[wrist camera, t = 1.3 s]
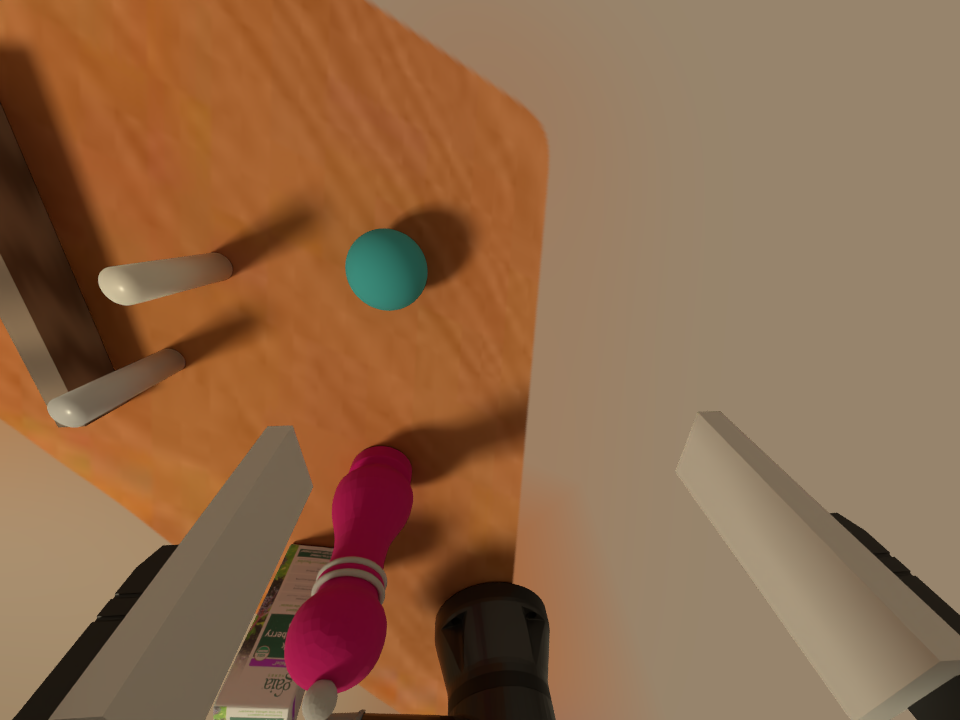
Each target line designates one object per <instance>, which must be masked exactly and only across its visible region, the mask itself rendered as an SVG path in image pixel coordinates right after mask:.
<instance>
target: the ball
mask: <svg viewBox="0 0 960 720" xmlns="http://www.w3.org/2000/svg"><path fill="white" fill-rule="evenodd" d="M345 269H346V276H347V280H348V283H349V285H350V287H351V288H352V290H353V292H354V293H355V294H356V295H357V297H359V298H360V299H361V300H362V301H363V302H364V303H366V304H368V305H369V306H371V307H374V308H377V309H380V310H389V311H390V310H398V309H401V308H404V307H407V306H408V305H410V304H412V303H413V302H414V301H415V300H416V299H417V298H418V297H419V296H420V295H421V293H422V291H423V290H424V287H425V285H426V281H427V272H428V270H427V263H426V259H425V257H424V254H423V252H422V250H421V249H420V247H419V246H418V245H417V244H416V242H415V241H414V240H412V239H411V238H410V237H409V236H407V235H406V234H404V233H402V232H399V231H396V230H392V229H375V230H372V231H369V232H367V233H365V234H363V235H362V236H360V237H359V238H358V239H357V240H356V241H355V242H354V243H353V244H352V246H351V248H350V250H349V252H348V255H347V258H346V265H345Z"/></svg>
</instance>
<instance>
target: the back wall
mask: <svg viewBox="0 0 960 720" xmlns="http://www.w3.org/2000/svg"><path fill="white" fill-rule="evenodd" d="M0 318H1V320H2V322H3V324H4V325H5V327H6V329H7V331H8V333H9V335H10V337H11V339H12V341H13V343H14V344H15V346H16V348H17V350H18V352H19V354H20V356H21V358H22V360H23V361H24V363H25V365H26V367H27V369H28V371H29V373H30V375H31V377H32V379H33V380H34V382H35V384H36V386H37V388H38V390H39V392H40V394H41V396H42V398H43V399H44V401H45V403H46V405H47V406H48V403H49V402H50V401H51V400H52V399H54V398H56V397H59V396H61V395H63V394H65V393H67V392H70V391H72V390H74V389H76V388H78V387H81V386H83V385H85V384H87V383H90V382H92V381H94V380H96V379H98V378H101V377H103V376H105V375H107V374H110V373H112V372H114V369H113V367H112V364H111V362H110V360H109V357H108V355H107V353H106V350H105V348H104V346H103V343H102V341H101V338H100V336H99V334H98V331H97V329H96V327H95V324H94V322H93V320H92V317H91V315H90V313H89V310H88V308H87V306H86V303H85V301H84V299H83V296H82V294H81V292H80V289H79V287H78V284H77V282H76V280H75V277H74V275H73V273H72V270H71V268H70V266H69V263H68V261H67V259H66V256H65V254H64V252H63V249H62V247H61V245H60V242H59V240H58V238H57V235H56V233H55V230H54V228H53V226H52V223H51V221H50V219H49V216H48V214H47V212H46V209H45V207H44V205H43V202H42V200H41V198H40V195H39V193H38V191H37V188H36V186H35V184H34V181H33V179H32V176H31V174H30V172H29V169H28V167H27V165H26V162H25V160H24V158H23V155H22V153H21V151H20V148H19V146H18V144H17V141H16V139H15V137H14V134H13V132H12V130H11V127H10V125H9V122H8V120H7V118H6V115H5V113H4V111H3V108H2V106H1V104H0ZM125 403H127V401H125V402H123V403H122V404H120V405H118V406H116V407H114V408H113V409H111V410H109V411H107V412H106V413H104V414H102V415H100V416H98V417H97V418H95V419H93V420H91V421H89V422H88V423H86V424H84V425H82V426H87V425H88V424H90V423H92V422H94V421H95V420H97V419H99V418H101V417H102V416H104V415H106V414H108V413H110V412H111V411H113V410H115V409H117V408H118V407H120V406H122V405H124V404H125ZM55 422H56V424H57V426H58V427H68V426H64V425H62V424H60V423H58V422H57V421H55Z"/></svg>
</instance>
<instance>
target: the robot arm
mask: <svg viewBox="0 0 960 720" xmlns="http://www.w3.org/2000/svg"><path fill="white" fill-rule="evenodd" d="M675 472H676V473H677V475H678V476H679V478H680V479H681V481H682V482H683V483H684V485H685V486H686V488H687V489H688V490H689V492H690V493H691V495H692V496H693V498H694V499H695V500H696V502H697V503H698V505H699V506H700V508H701V509H702V510H703V512H704V513H705V514H706V516H707V517H708V519H709V520H710V522H711V523H712V524H713V526H714V527H715V529H716V530H717V532H718V533H719V534H720V536H721V537H722V539H723V540H724V541H725V543H726V544H727V546H728V547H729V549H730V550H731V551H732V553H733V554H734V556H735V557H736V558H737V560H738V561H739V563H740V564H741V566H742V567H743V568H744V570H745V571H746V573H747V574H748V575H749V577H750V578H751V580H752V581H753V583H754V584H755V585H756V587H757V588H758V590H759V591H760V592H761V594H762V595H763V597H764V598H765V599H766V601H767V602H768V604H769V605H770V607H771V608H772V609H773V610H774V612H775V614H776V615H777V616H778V618H779V619H780V621H781V622H782V624H783V625H784V626H785V628H786V629H787V631H788V632H789V633H790V635H791V636H792V638H793V639H794V640H795V642H796V643H797V645H798V646H799V648H800V649H801V650H802V652H803V653H804V655H805V656H806V657H807V659H808V660H809V662H810V663H811V665H812V666H813V667H814V669H815V670H816V671H817V673H818V674H819V676H820V677H821V679H822V680H823V682H824V683H825V684H826V686H827V687H828V688H829V690H830V691H831V693H832V694H833V696H834V697H835V698H836V700H837V701H838V703H839V704H840V706H841V707H842V708H843V710H844V711H845V713H846V714H847V715H848V717H849V718H850V720H891V719H893V718H894V717H896V716H897V715H899V714H900V713H902V712H903V711H905V710H906V709H909V711H910V712H911V713H912V714H913V715H914V717H915V718H916V719H917V720H960V615H959V614H958V613H957V612H955V611H954V610H953V609H952V608H951V607H950V606H949V605H948V604H947V603H945V602H944V601H943V600H942V599H941V598H940V597H939V596H938V595H937V594H935V593H934V592H933V591H932V590H931V589H930V588H929V587H928V586H926V585H925V584H924V583H923V582H922V581H921V580H920V579H919V578H918V577H916V576H913V575H911V573H910V570H909V569H907V568H906V567H905V566H904V565H903V564H902V563H901V562H900V561H899V560H897V559H896V558H895V557H891V556H890V554H889V553H890V552H889V551H887V550H886V549H885V548H884V547H883V546H882V545H881V544H879V543H878V542H877V541H876V540H875V539H874V538H873V537H872V536H871V535H869V534H868V533H867V532H866V531H865V530H863V529H862V528H860V527H859V526H857V525H856V524H854V523H852V522H851V521H849V520H848V519H846V518H844V517H843V516H841V515H840V514H838V513H828V512H827V511H826V510H825V509H824V508H823V507H822V506H821V505H820V504H819V503H818V502H817V501H816V500H814V499H813V498H812V497H811V496H810V495H809V494H808V493H807V492H806V491H805V490H804V489H803V488H802V487H801V486H800V485H798V484H797V483H796V482H795V481H794V480H793V479H792V478H791V477H790V476H789V475H788V474H787V473H786V472H785V471H784V470H782V469H781V468H780V467H779V466H778V465H777V464H776V463H775V462H774V461H773V460H772V459H771V458H770V457H769V456H768V455H766V454H765V453H764V452H763V451H762V450H761V449H760V448H759V447H758V446H757V445H756V444H755V443H754V442H752V441H751V440H750V439H749V438H748V437H747V436H746V435H745V434H744V433H743V432H742V431H741V430H740V429H739V428H738V427H736V426H735V425H734V424H733V423H732V422H731V421H730V420H729V419H728V418H727V417H726V416H725V415H724V414H723V413H722V412H720V411H711V412H698V413H697V415H696V418H695V421H694V423H693V426H692V428H691V432H690V434H689V437H688V439H687V442H686V445H685V447H684V450H683V453H682V455H681V458H680V461H679V463H678V466H677V469H676V471H675ZM312 488H313V485H312V482H311V479H310V476H309V473H308V470H307V467H306V464H305V461H304V458H303V455H302V452H301V449H300V446H299V443H298V440H297V437H296V434H295V431H294V428H293V426H268V427H267V428H266V429H265V431H264V432H263V433H262V435H261V436H260V437H259V439H258V440H257V441H256V443H255V444H254V445H253V447H252V448H251V449H250V451H249V452H248V453H247V455H246V456H245V457H244V459H243V460H242V461H241V463H240V464H239V465H238V467H237V468H236V469H235V471H234V472H233V473H232V475H231V476H230V477H229V479H228V480H227V481H226V483H225V484H224V485H223V487H222V488H221V489H220V491H219V492H218V493H217V495H216V496H215V497H214V499H213V500H212V501H211V503H210V504H209V505H208V507H207V508H206V509H205V511H204V512H203V513H202V515H201V516H200V518H199V519H198V520H197V522H196V523H195V524H194V526H193V527H192V528H191V530H190V531H189V532H188V534H187V535H186V536H185V538H184V539H183V540H182V542H181V543H180V544H179V545H166V546H162V547H161V548H159V549H158V550H157V551H156V552H154V553H153V554H152V555H151V556H150V557H148V558H147V559H146V560H145V561H144V562H143V563H141V564H140V565H139V566H138V567H136V569H135V570H134V571H133V572H132V574H131V575H130V576H129V577H128V578H127V580H126V581H125V582H124V583H123V585H122V586H121V587H120V589H119V590H118V591H117V592H116V593H115V597H114V598H113V599H111V600H110V601H109V602H108V603H107V604H106V605H105V607H104V608H103V609H102V610H101V612H100V613H99V614H98V615H97V619H96V621H95V622H92V623H91V624H90V625H89V626H88V628H87V629H86V630H85V631H84V633H83V634H82V635H81V636H80V637H79V639H78V640H77V641H76V642H75V644H74V645H73V646H72V647H71V649H70V650H69V651H68V652H67V653H66V655H65V656H64V657H63V658H62V660H61V661H60V662H59V663H58V665H57V666H56V667H55V668H54V670H53V671H52V672H51V673H50V674H49V676H48V677H47V678H46V679H45V681H44V682H43V683H42V684H41V686H40V687H39V688H38V689H37V690H36V692H35V693H34V694H33V695H32V697H31V698H30V699H29V700H28V701H27V703H26V704H25V705H24V706H23V708H22V709H21V710H20V711H19V713H18V714H17V715H16V716H15V717H14V718H13V719H12V720H205V719H206V716H207V715H208V713H209V710H210V708H211V706H212V704H213V701H214V699H215V697H216V695H217V693H218V691H219V689H220V687H221V684H222V682H223V680H224V678H225V676H226V674H227V672H228V669H229V667H230V665H231V663H232V661H233V659H234V656H235V654H236V652H237V650H238V648H239V646H240V643H241V641H242V639H243V637H244V635H245V633H246V631H247V628H248V626H249V624H250V622H251V620H252V618H253V615H254V613H255V611H256V609H257V607H258V605H259V602H260V600H261V598H262V596H263V594H264V592H265V590H266V587H267V585H268V583H269V581H270V579H271V577H272V574H273V572H274V570H275V568H276V566H277V564H278V562H279V559H280V557H281V555H282V553H283V551H284V549H285V546H286V544H287V542H288V540H289V538H290V536H291V533H292V531H293V529H294V527H295V525H296V523H297V521H298V518H299V516H300V514H301V512H302V510H303V508H304V505H305V503H306V501H307V499H308V497H309V495H310V492H311V490H312ZM549 631H550V630H549V622H548V618H547V614H546V610H545V606H544V604H543V602H542V600H541V599H540V598H539V597H538V596H537V595H536V594H535V593H534V592H532V591H531V590H529V589H527V588H525V587H522V586H519V585H515V584H510V583H486V584H481V585H476V586H473V587H470V588H467V589H465V590H463V591H461V592H459V593H457V594H455V595H454V596H452V597H451V598H450V599H449V600H447V601H446V602H445V603H444V604H443V606H442V607H441V608H440V610H439V612H438V614H437V617H436V621H435V646H436V650H437V654H438V658H439V662H440V666H441V670H442V674H443V678H444V682H445V686H446V690H447V694H448V716H440V715H413V714H375V713H365V710H360V711H359V712H356V713H331V715H330V716H329V717H328V718H327V719H326V720H556V719H555V714H554V710H553V705H552V701H551V696H550V692H549V687H548V657H549V633H550V632H549Z"/></svg>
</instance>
